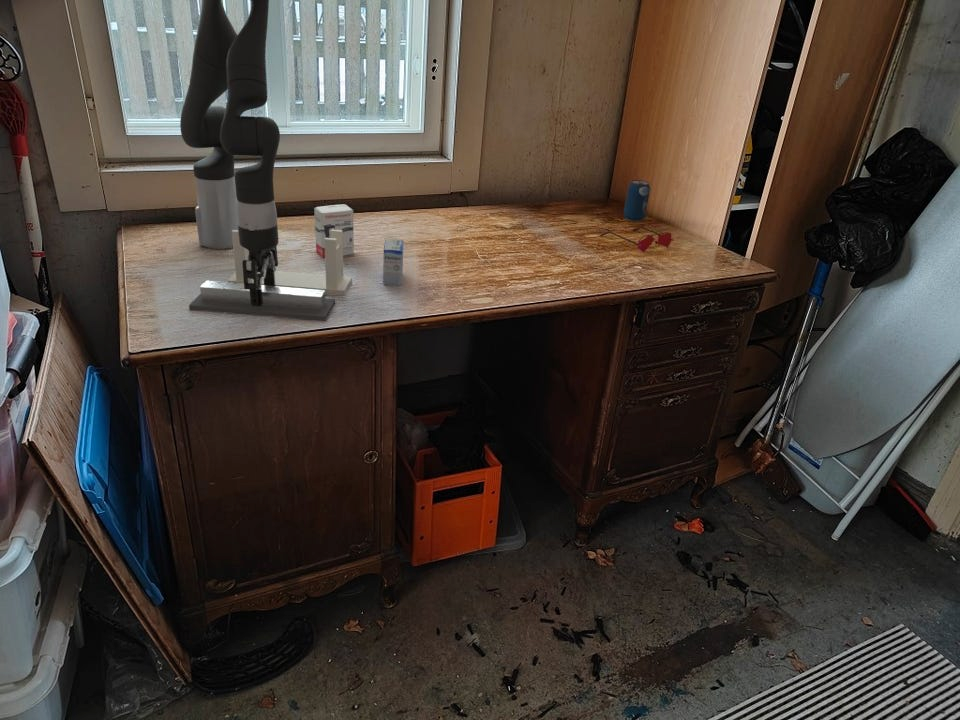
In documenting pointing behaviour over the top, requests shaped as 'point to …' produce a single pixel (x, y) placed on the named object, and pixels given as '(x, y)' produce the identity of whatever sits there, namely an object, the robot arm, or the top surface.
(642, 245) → the glasses
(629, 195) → the soda can
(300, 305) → the rail
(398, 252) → the medicine box
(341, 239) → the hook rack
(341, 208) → the ink box
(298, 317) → the rubber mat
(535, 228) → the top surface
